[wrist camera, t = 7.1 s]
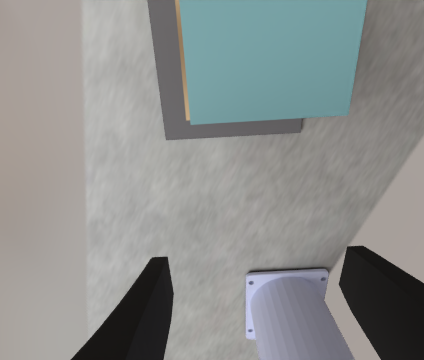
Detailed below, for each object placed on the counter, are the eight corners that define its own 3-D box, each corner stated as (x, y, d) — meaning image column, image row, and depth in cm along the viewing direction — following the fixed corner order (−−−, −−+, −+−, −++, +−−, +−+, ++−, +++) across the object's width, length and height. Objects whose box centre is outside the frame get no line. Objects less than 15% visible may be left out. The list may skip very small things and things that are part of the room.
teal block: (294, 101, 11) (348, 115, 7) (197, 107, 11) (190, 124, 7) (304, -22, 9) (384, -106, 5) (187, -14, 9) (170, -90, 5)
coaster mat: (298, 131, 18) (300, 132, 17) (166, 138, 18) (166, 140, 18) (314, -38, 14) (317, -42, 14) (145, -28, 14) (143, -31, 14)
